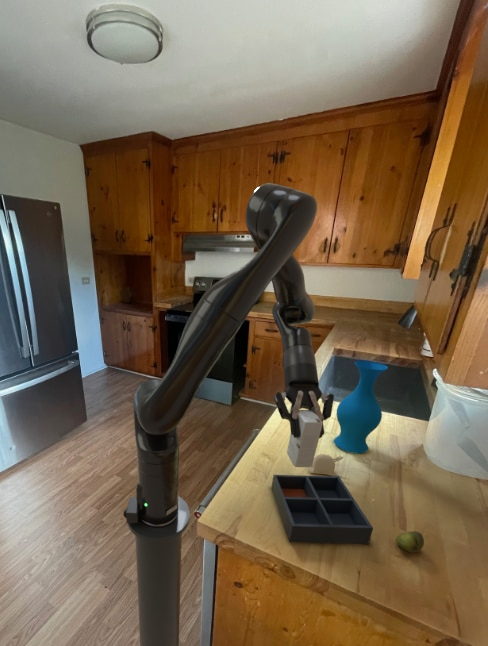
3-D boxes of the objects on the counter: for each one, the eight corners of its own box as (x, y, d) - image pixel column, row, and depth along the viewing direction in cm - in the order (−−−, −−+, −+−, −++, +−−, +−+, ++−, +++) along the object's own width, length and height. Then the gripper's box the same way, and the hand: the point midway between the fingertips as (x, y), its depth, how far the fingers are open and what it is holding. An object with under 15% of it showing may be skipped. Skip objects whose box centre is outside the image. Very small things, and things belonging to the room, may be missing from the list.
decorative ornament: (308, 464, 97) (311, 449, 95) (338, 469, 95) (342, 454, 93) (309, 473, 93) (313, 457, 91) (341, 478, 92) (345, 462, 90)
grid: (289, 542, 71) (292, 526, 69) (271, 488, 87) (273, 474, 85) (368, 544, 71) (373, 528, 69) (335, 490, 87) (339, 476, 85)
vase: (375, 460, 100) (400, 374, 89) (331, 451, 104) (350, 368, 93) (368, 440, 111) (390, 361, 100) (328, 433, 114) (345, 356, 104)
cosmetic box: (285, 452, 81) (293, 408, 76) (303, 452, 81) (311, 408, 76) (295, 468, 75) (303, 422, 70) (314, 468, 75) (323, 421, 71)
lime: (391, 547, 70) (397, 529, 68) (400, 536, 73) (407, 519, 71) (414, 562, 67) (421, 543, 65) (423, 550, 70) (430, 532, 68)
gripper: (274, 360, 76) (281, 432, 70) (335, 362, 77) (347, 434, 70) (267, 373, 83) (272, 440, 77) (323, 375, 83) (332, 442, 77)
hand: (308, 437), depth 73 cm, fingers closed on cosmetic box, 4 cm apart
